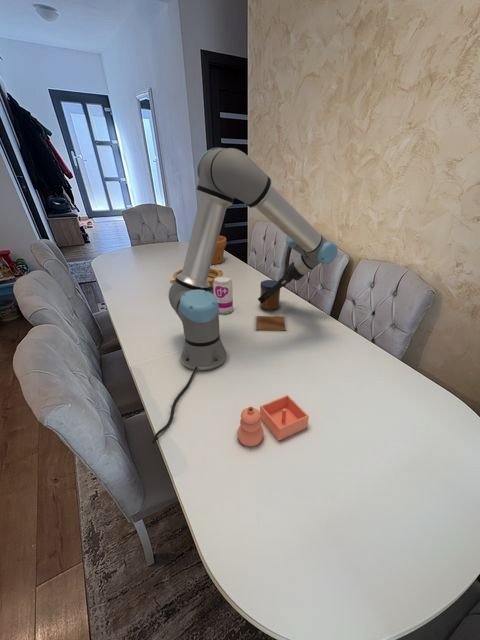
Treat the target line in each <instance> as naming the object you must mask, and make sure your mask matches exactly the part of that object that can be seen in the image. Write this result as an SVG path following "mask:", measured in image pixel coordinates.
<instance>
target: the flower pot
mask: <svg viewBox="0 0 480 640" xmlns="http://www.w3.org/2000/svg"><path fill="white" fill-rule="evenodd" d="M226 247H227V238H226V236H224V235H219V237H218V241H217V244H216V248H215V252H214V255H213V259H212V263H211V265H218V264H221V263H222V262H223V261H224V260H223V259H224V253H225V248H226Z"/></svg>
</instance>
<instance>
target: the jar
mask: <svg viewBox="0 0 480 640" xmlns="http://www.w3.org/2000/svg"><path fill="white" fill-rule="evenodd" d="M265 292H267V291H266V290H263V289H261V288H260V295H259V297H260V296H262V295H263V294H264V293H265ZM280 302H281V288H280V289H279V290H278V291H277V292H275V293H274V294H273V295H272V296H271V297H269V298H268V299H266V300H265V301H264V302H263V303H260V302H259V307H261V309H263V310H267V311H273V310H277V309H279V308H280Z"/></svg>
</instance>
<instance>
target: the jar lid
mask: <svg viewBox="0 0 480 640" xmlns="http://www.w3.org/2000/svg"><path fill="white" fill-rule="evenodd" d="M277 283H278V280H275V279H265V280H262V281H260V290H261V289H263V290H270V289H271V288H272V287H273V286H274V285H276V284H277Z"/></svg>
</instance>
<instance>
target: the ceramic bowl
mask: <svg viewBox="0 0 480 640" xmlns="http://www.w3.org/2000/svg"><path fill="white" fill-rule="evenodd" d="M182 271H183V268H181V269H179V270H177V271H175V272H174V273H173V275H172V277H173V279H170V280H169V283H170V284H171V285H172V284H173V283H175V281H176V276H177V275H178V274H180V273H182ZM223 275H224V272H223V270H219V269H216V268H212V267H210V270H209V274H208V277H207V281H208V282H209V284H210V287H209V290H210V289H213V282H214V279H215V278H216V277H221V276H223Z"/></svg>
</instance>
